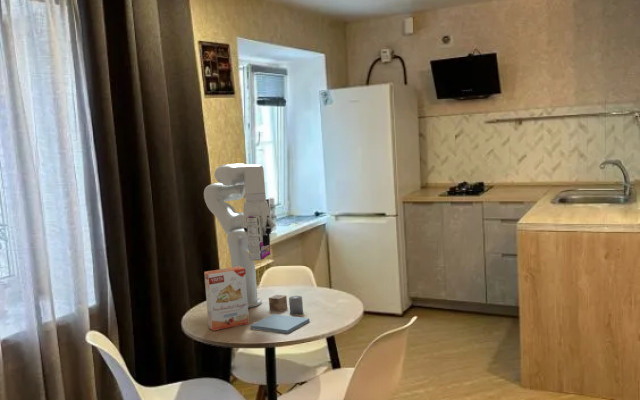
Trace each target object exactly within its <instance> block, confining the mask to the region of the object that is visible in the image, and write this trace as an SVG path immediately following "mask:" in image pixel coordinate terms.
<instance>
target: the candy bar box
mask: <svg viewBox="0 0 640 400" xmlns="http://www.w3.org/2000/svg"><path fill="white" fill-rule="evenodd" d="M246 220H247V232H248V243H249V251H248V254H249V255H250V260H254V261H263V260H265V258H267V257H269V256H270V255H271V254H272V253H271V245H267V246H264V245H263V236H264V234H263V231H262V229H261V224H260V216H249V217H247V218H246ZM265 230H266V229H265Z"/></svg>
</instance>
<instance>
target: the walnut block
mask: <svg viewBox="0 0 640 400" xmlns="http://www.w3.org/2000/svg"><path fill="white" fill-rule="evenodd" d="M268 306H269V307H268V308H269V311H275V312H282V311H283V310H285V309H288V300H287V295H285V294H284V295H283V294H275V295H271V296H270V297H268Z"/></svg>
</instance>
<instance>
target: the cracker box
mask: <svg viewBox="0 0 640 400" xmlns="http://www.w3.org/2000/svg"><path fill="white" fill-rule="evenodd" d="M203 274H204V286H205V298H206V309H207V310H206V311H207V323H208V327H209V329H210V330H211V331H213V332H214V331H220V330H223V329H228V328H233V327H237V326H244V325H248V324H249V323H250V319H249V318H250V317H249V308H248V301H247V286H246V272H245V269H244V268H242V267H240V266H239V267H232V266H231V267H227V268H220V269H215V270H207V271H204V273H203Z"/></svg>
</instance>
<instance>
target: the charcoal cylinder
mask: <svg viewBox="0 0 640 400" xmlns="http://www.w3.org/2000/svg"><path fill="white" fill-rule="evenodd" d="M288 303H289V314H290V315H293V316H295V315H301V314H303V313H304V307H303V296H302V295H293V296H289V297H288Z"/></svg>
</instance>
